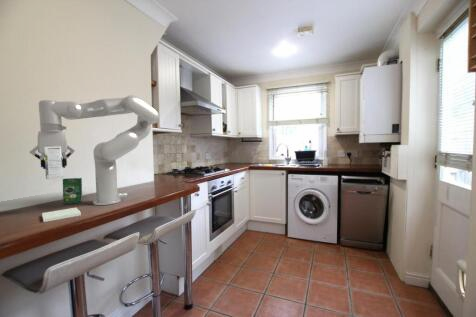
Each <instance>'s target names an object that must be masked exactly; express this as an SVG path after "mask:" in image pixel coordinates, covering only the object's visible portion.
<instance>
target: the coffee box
mask: <svg viewBox="0 0 476 317" xmlns="http://www.w3.org/2000/svg"><path fill="white" fill-rule="evenodd" d="M82 202H83V178H82V177H74V178H73V177H71V178H63V179H62V203H63V205H68V204H69V205H70V204H80V203H82Z"/></svg>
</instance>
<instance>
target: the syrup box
mask: <svg viewBox="0 0 476 317" xmlns="http://www.w3.org/2000/svg"><path fill="white" fill-rule="evenodd" d="M44 151H45V157H44V160H45V169H44V170H45V179H46V180H53V179H54V180H55V179H61V178H64V168H63V164H62V159H63V156H62V154H61V147H56V146H49V147H44Z"/></svg>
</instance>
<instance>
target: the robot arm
mask: <svg viewBox="0 0 476 317" xmlns="http://www.w3.org/2000/svg"><path fill="white" fill-rule="evenodd" d="M132 113H134V114H135V115H136V116H137V118H136V119H137V120H136V121H137V122H136V124H135V125H133V126H132V127H130V128H128V129H125V131H123V132H122V131H121V132H120V133H118V134H117V135H116V136H115V137H114V138H112V139H110V140H108V141H105V142H99V143H98V144H96V146H95V147H94V148H93V161H94V169H95V170H94V172H95V191H96V192H95V193H96V194H95V195H96V200H95V199H94V200H93V202H92V204H93V205H95V206H107V205H113V204H114V205H115V204H117V203H120V202H121V201H122V198H123V197H124V198H125V197H128V192H118V175H117V173H118V172H117V162H116V160H118V159H119V158H122V157H124V156H125V155H127V154H128V153H130V152H132V151H133V150H135V149H136V148H137V147H138V145H139V143H140V141H142V140H144V139H145V138H147V137H148V135H149V134H150V133H151V128H152V127H151V126H152V125H154V124H156V123H158V122H159V120H160V113H159V112H158V111H157V109H155V108H154V107H153V106H151V105H149V104H148V103H147V102H146V101H144V100H142V99H141V98H139V97H138V96H136V95H132V94H131V95H127V96H125V97H116V98H101V99H97V100H95V101H91V102H86V103H78V102H74V101H56V100H50V99H49V100H48V99H44V100H43V99H42V100H39V101H38V114H39V129H40V131H38V132H37V145H36V146H35V147H34V148H33V149H31V150H30V151H29V154H31V155H32V156H34V157H35V158H37V159H38V160H40V168H42V169H43V170H45V151H44V147H49V146H56V147H61V154H62V164H63V169H65V168H66V167H67V166H68V161H67V159H68V158H70V157H71V155H72V154H74V153H75V149H73V148H72V147H71V146H69V145H68V142H67V137H66V133H65V132H64V131H65V130H67V126H64V125H63V123H62V122H63V121H62V119H63V118H64V119H65V120H68V121H71V120H73V121H74V120H81V119H89V118H91V119H92V118H100V117H101V118H103V117H108V116H116V115H117V116H119V115H125V114H126V115H129V114H132ZM68 151H69V152H68ZM36 152H38V153H39V154H38V153H36Z"/></svg>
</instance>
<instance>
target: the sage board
mask: <svg viewBox="0 0 476 317" xmlns="http://www.w3.org/2000/svg"><path fill="white" fill-rule="evenodd" d="M79 216H82V213H81V211H80V210H79V209H78V207H72V208H65V209H59V210H54V211H48V212H47V211H46V212H41V217H42V221H43V222H44V223H45V222H53V221H58V220H62V219H66V218H67V219H69V218H72V217H79Z"/></svg>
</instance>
